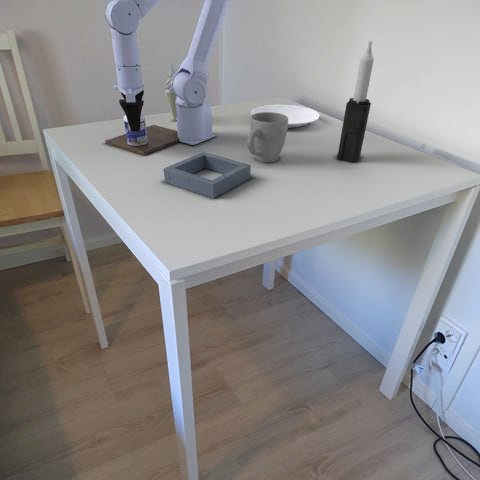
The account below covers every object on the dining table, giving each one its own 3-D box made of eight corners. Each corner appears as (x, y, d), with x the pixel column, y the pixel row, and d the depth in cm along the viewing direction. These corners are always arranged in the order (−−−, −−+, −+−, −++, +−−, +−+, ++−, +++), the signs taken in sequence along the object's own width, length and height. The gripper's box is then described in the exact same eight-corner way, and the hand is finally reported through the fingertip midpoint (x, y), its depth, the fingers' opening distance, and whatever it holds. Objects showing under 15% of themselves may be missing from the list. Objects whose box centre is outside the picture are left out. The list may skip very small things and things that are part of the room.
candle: (360, 156, 108) (384, 40, 92) (356, 163, 105) (380, 43, 89) (341, 153, 110) (361, 38, 94) (336, 159, 106) (356, 41, 90)
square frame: (203, 164, 102) (203, 151, 100) (250, 178, 96) (250, 164, 94) (164, 182, 93) (163, 168, 91) (213, 198, 88) (213, 184, 86)
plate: (246, 112, 137) (246, 104, 136) (309, 111, 139) (310, 104, 138) (255, 132, 122) (255, 123, 120) (326, 131, 124) (327, 123, 122)
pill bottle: (128, 139, 112) (123, 102, 106) (148, 139, 112) (144, 102, 106) (126, 146, 108) (120, 108, 102) (147, 146, 108) (142, 108, 102)
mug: (263, 149, 110) (265, 109, 104) (291, 158, 106) (295, 117, 100) (233, 162, 103) (234, 120, 97) (262, 171, 99) (265, 128, 93)
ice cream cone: (180, 123, 126) (176, 65, 116) (164, 122, 127) (159, 64, 117) (185, 118, 130) (182, 62, 120) (169, 117, 131) (165, 61, 121)
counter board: (154, 127, 123) (153, 124, 122) (191, 137, 117) (190, 134, 116) (105, 143, 111) (105, 140, 111) (143, 155, 105) (143, 152, 105)
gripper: (112, 58, 103) (120, 118, 112) (108, 71, 93) (118, 135, 101) (141, 58, 104) (148, 117, 113) (141, 70, 94) (148, 135, 102)
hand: (135, 126), depth 107 cm, fingers open, 7 cm apart
